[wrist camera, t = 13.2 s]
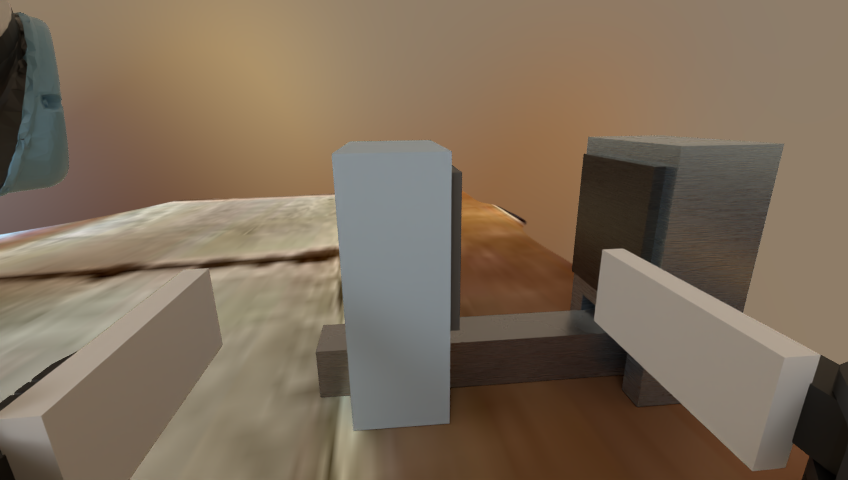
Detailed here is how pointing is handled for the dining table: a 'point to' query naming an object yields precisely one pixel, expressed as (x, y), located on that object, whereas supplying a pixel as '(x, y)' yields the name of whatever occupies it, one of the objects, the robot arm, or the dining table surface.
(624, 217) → the grey l-shaped block
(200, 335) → the robot arm
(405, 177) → the tall grey-blue pillar
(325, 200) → the dining table surface
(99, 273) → the dining table surface
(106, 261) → the dining table surface
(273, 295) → the dining table surface
